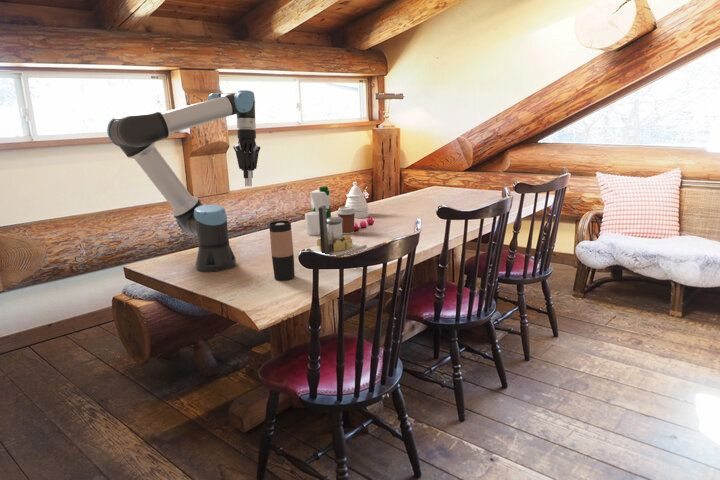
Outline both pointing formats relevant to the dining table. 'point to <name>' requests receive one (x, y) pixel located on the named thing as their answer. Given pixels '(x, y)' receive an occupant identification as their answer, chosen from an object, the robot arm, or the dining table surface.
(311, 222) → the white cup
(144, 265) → the dining table surface
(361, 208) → the honey pot
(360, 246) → the base plate
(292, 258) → the travel mug
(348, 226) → the coffee cup
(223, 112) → the robot arm
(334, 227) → the white lidded jar
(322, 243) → the grey and gold stand
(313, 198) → the milk carton
